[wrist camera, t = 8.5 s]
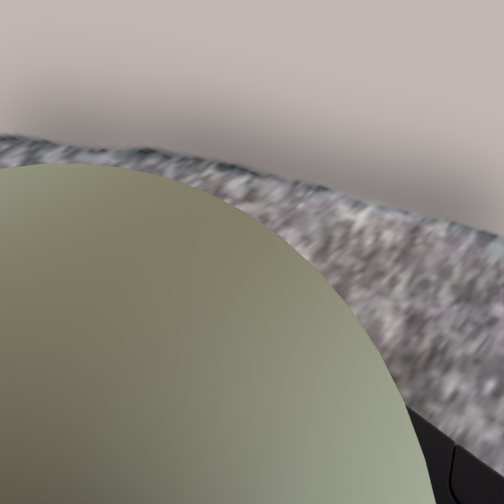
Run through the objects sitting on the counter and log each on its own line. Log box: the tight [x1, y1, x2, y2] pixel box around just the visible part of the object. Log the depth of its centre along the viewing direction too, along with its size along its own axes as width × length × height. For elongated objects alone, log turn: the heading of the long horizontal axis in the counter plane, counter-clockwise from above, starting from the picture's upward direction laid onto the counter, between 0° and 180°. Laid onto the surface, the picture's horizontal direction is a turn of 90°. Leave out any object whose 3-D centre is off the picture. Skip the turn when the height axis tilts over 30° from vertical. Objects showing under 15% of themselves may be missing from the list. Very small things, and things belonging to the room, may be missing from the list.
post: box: [0, 164, 436, 504], centre depth 8 cm, size 5×5×12 cm
